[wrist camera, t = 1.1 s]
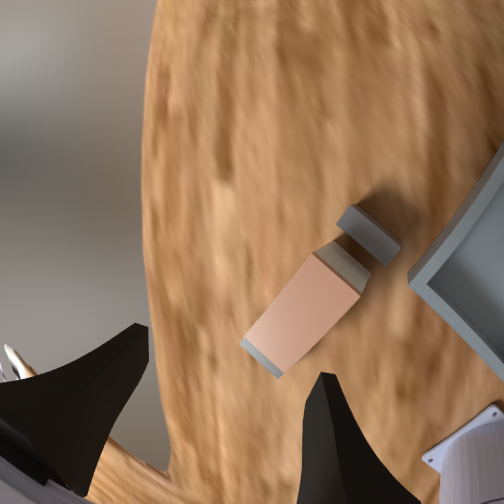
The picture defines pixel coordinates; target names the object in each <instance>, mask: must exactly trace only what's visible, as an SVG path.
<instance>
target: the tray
mask: <svg viewBox="0 0 504 504" xmlns="http://www.w3.org/2000/svg"><path fill="white" fill-rule="evenodd" d="M408 286H410V287H411V288H412V289H413V290H414V291H415V292H416V293H417V294H418V295H419V296H420V297H421V298H422V299H423V300H424V301H426V302H427V303H428V304H429V305H430V306H431V307H432V308H433V309H434V310H435V311H436V312H437V313H438V314H439V315H440V316H441V317H442V318H443V319H444V320H445V321H446V322H447V323H448V324H449V325H450V326H451V327H452V328H453V329H454V330H455V331H456V332H457V333H458V334H459V335H460V336H461V337H462V338H463V339H464V340H465V341H466V342H467V343H468V344H469V345H470V346H471V347H472V348H473V349H474V350H475V351H476V353H477V354H478V355H479V356H480V357H481V358H482V359H483V360H484V361H485V362H486V363H487V364H488V365H489V366H490V368H491V369H492V370H493V371H494V372H495V373H496V374H497V375H498V376H499V378H500V379H501V380H502V381H503V382H504V140H503V142H502V144H501V145H500V147H499V149H498V150H497V152H496V154H495V155H494V157H493V159H492V160H491V162H490V163H489V165H488V167H487V168H486V170H485V171H484V173H483V174H482V176H481V177H480V179H479V180H478V182H477V183H476V185H475V186H474V188H473V189H472V191H471V192H470V194H469V195H468V196H467V198H466V199H465V201H464V202H463V204H462V205H461V206H460V208H459V209H458V210H457V212H456V213H455V215H454V216H453V217H452V219H451V220H450V221H449V223H448V224H447V225H446V227H445V228H444V229H443V231H442V232H441V233H440V234H439V236H438V237H437V238H436V240H435V241H434V242H433V243H432V245H431V246H430V247H429V248H428V250H427V251H426V252H425V253H424V254H423V256H422V257H421V258H420V259H419V261H418V262H417V263H416V264H415V265H414V266H413V268H412V269H411V270H410V271H409V272H408Z"/></svg>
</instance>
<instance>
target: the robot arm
mask: <svg viewBox="0 0 504 504" xmlns="http://www.w3.org/2000/svg"><path fill="white" fill-rule="evenodd" d="M148 344H149V343H148V327H146V326H143V325H140V324H137V323H134V324H132V325H131V326H129V327H128V328H127V329H125V330H123V331H122V332H121V333H119V334H118V335H116V336H115V337H113V338H112V339H110V340H109V341H107V342H106V343H104V344H102V345H101V346H99V347H98V348H96V349H94V350H93V351H91V352H89V353H88V354H86V355H84V356H82V357H80V358H79V359H77V360H75V361H73V362H71V363H68V364H66V365H64V366H62V367H59V368H57V369H54V370H52V371H49V372H46V373H43V374H40V375H37V376H33V377H29V378H25V379H21V380H16V381H10V382H3V383H0V504H94V503H92V502H90V501H88V500H86V499H84V498H82V497H86V496H87V494H88V491H89V487H90V484H91V481H92V478H93V474H94V472H95V469H96V466H97V463H98V460H99V458H100V455H101V453H102V450H103V448H104V445H105V443H106V440H107V438H108V436H109V434H110V431H111V429H112V427H113V425H114V423H115V421H116V419H117V417H118V416H119V414H120V412H121V411H122V409H123V408H124V406H125V404H126V403H127V401H128V399H129V398H130V396H131V395H132V393H133V391H134V390H135V388H136V386H137V385H138V383H139V381H140V380H141V378H142V375H143V373H144V371H145V369H146V366H147V364H148V362H149V345H148ZM494 412H496V413H495V414H493V413H494ZM429 459H431V460H429ZM422 460H423V461H424V462H426V463H427V464H428V465H430V466H431V467H432V468H433V469H435V470H436V471H437V472H439V473H440V474H441V478H440V495H439V504H504V413H503V412H502V411H501V410H500V409H499V408H498V407H497V405H495V404H492V405H490V406H489V407H487V408H486V409H485V410H484V411H483V412H481V413H480V414H479V415H478V416H476V417H475V418H474V419H473V420H471V421H470V422H469V423H467V424H466V425H465V426H463V427H462V428H461V429H459V430H458V431H457V432H455V433H454V434H452V435H451V436H450V437H448V438H447V439H445V440H444V441H442V442H441V443H440V444H438V445H437V446H435V447H433V448H432V449H430V450H429V451H427V452H426V453H424V454H423V456H422ZM297 504H421V501H419V500H418V499H417V498H416V497H415V496H414V495H412V494H411V493H410V492H409V491H408V490H407V489H405V488H404V487H403V486H402V485H401V484H400V483H399V482H398V481H397V480H396V479H395V478H394V476H393V475H392V474H391V473H390V472H389V471H388V469H387V468H386V467H385V466H384V465H383V463H382V462H381V461H380V460H379V458H378V457H377V455H376V454H375V453H374V451H373V450H372V448H371V447H370V445H369V444H368V442H367V440H366V439H365V437H364V435H363V433H362V432H361V430H360V428H359V426H358V424H357V422H356V420H355V418H354V416H353V414H352V412H351V410H350V408H349V405H348V403H347V401H346V399H345V396H344V394H343V391H342V389H341V387H340V384H339V382H338V379H337V377H336V375H335V374H331V373H325V372H321V373H320V375H319V377H318V379H317V381H316V383H315V385H314V387H313V389H312V391H311V393H310V394H309V396H308V398H307V400H306V403H305V410H304V417H303V434H302V472H301V481H300V487H299V493H298V499H297Z"/></svg>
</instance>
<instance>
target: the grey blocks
mask: <svg viewBox="0 0 504 504" xmlns="http://www.w3.org/2000/svg"><path fill="white" fill-rule="evenodd" d="M336 225H337V226H338V227H340V228H341V229H342V230H343V231H344V232H346V233H347V234H348V235H349V236H350V237H352V238H353V239H354V240H355V241H356V242H357V243H359V244H360V245H361V246H362V247H363V248H364V249H366V250H367V251H368V252H369V253H370V254H371V255H373V256H374V257H375V258H376V259H377V260H378V261H379V262H381V263H382V264H383V265H384V266H385V267H386V266H387V265H388V264H389V263H390V261H391V260H392V259H393V258H394V257H395V255H396V254H397V253H398V252H399V251H400V249H401V242H400V241H399V240H398V239H397V238H396V237H395V236H394V235H392V234H391V233H390V232H389V231H388V230H387V229H385V228H384V227H383V226H382V225H381V224H380V223H378V222H377V221H376V220H375V219H374V218H372V217H371V216H370V215H369V214H368V213H366V212H365V211H364V210H363V209H362V208H360V207H359V206H358V205H357V204H353V205H350V206H349V207H348V209H347V210H346V211H345V213H344V214H343V215H342V217H341V218H340V219H339V221H338V222H337V223H336ZM239 344H240V345H241V346H242V347H243V348H244V349H246V350H247V351H248V352H249V353H250V354H251V355H252V356H253V357H254V358H255V359H256V360H257V361H258V362H259V363H261V364H262V365H263V366H264V367H265V368H266V369H267V370H268V371H269V372H270V373H272V374H273V375H274V376H275V377H276V378H277V379H278V378H280V377H281V376H282V375H283V374H284V373H283V372H282V371H281V370H280V369H279V368H278V367H277V366H275V365H274V364H273V363H272V362H271V361H270V360H269V359H268V358H267V357H266V356H264V355H263V354H262V353H261V352H260V351H259V350H258V349H257V348H256V347H255V346H254V345H253V344H251V343H250V342H249V341H248V340H247V339H246V338H244V339H243V340H242V341H241V342H240V343H239Z"/></svg>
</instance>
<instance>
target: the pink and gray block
mask: <svg viewBox="0 0 504 504" xmlns="http://www.w3.org/2000/svg"><path fill="white" fill-rule="evenodd" d="M370 275H371V273H370V272H369V271H368V270H367V269H366V268H365V267H363V266H362V265H361V264H360V263H359V262H358V261H357V260H355V259H354V258H353V257H352V256H351V255H350V254H349V253H347V252H346V251H345V250H344V249H343V248H341V247H340V246H339V245H338V244H337V243H336V242H334V241H331V242H330V243H328V244H326V245H325V246H323V247H321V248H320V249H318V250H316V251H315V252H313V253H311V255H310V256H309V257H308V258H307V260H306V261H305V262H304V263H303V265H302V266H301V267H300V269H299V270H298V271H297V272H296V274H295V275H294V276H293V277H292V279H291V280H290V281H289V282H288V284H287V285H286V286H285V287H284V289H283V290H282V291H281V292H280V293H279V295H278V296H277V297H276V298H275V300H274V301H273V302H272V303H271V305H270V306H269V307H268V308H267V309H266V311H265V312H264V313H263V314H262V315H261V317H260V318H259V319H258V320H257V321H256V323H255V324H254V325H253V326H252V327H251V329H250V330H249V331H248V332H247V333H246V335H245V336H244V337H245V338H246V339H247V340H248V341H249V342H250V343H251V344H253V345H254V346H255V347H256V348H257V349H258V350H259V351H260V352H261V353H262V354H263V355H264V356H266V357H267V358H268V359H269V360H270V361H271V362H272V363H273V364H274V365H275V366H277V367H278V368H279V369H280V370H281V371H282V372H283V373H284V374H285V373H286V372H287V371H288V370H289V369H290V368H291V367H292V366H293V365H294V364H295V363H296V362H297V361H298V360H299V359H300V358H302V357H303V356H304V355H305V354H306V353H307V352H308V351H309V350H310V349H311V348H312V347H313V346H314V345H315V344H316V343H317V342H318V341H319V340H320V339H321V338H322V337H323V336H324V335H325V334H326V333H327V332H328V331H329V330H330V329H331V328H332V327H333V326H334V325H335V323H336V322H337V321H338V320H339V319H340V318H341V317H342V316H343V315H344V314H345V313H346V312H347V311H348V310H349V309H350V308H351V307H352V305H353V304H354V303H355V302H356V301H357V300H358V299H359V298H360V297H361V295H362V292H363V290H364V288H365V286H366V284H367V281H368V279H369V277H370Z"/></svg>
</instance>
